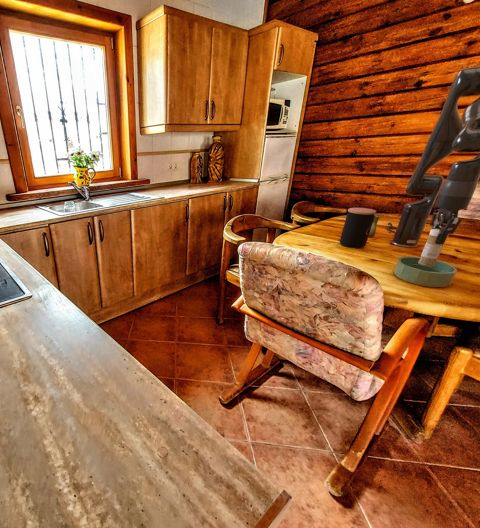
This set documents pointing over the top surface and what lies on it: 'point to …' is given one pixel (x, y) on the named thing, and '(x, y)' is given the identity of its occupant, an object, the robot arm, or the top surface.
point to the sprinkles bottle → (431, 250)
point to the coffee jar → (357, 227)
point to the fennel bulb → (373, 226)
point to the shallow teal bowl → (425, 272)
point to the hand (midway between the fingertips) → (435, 241)
